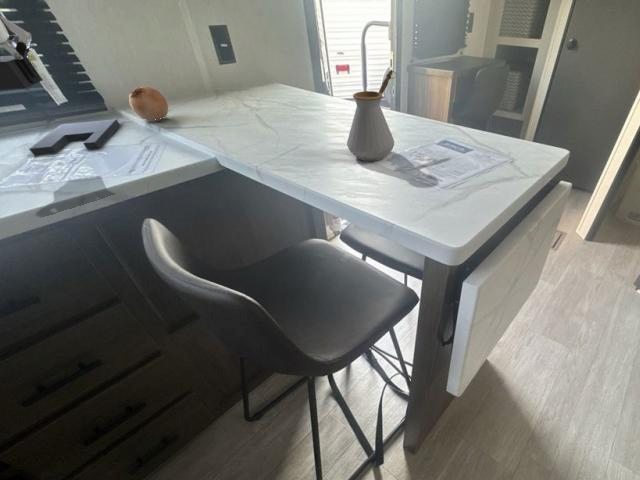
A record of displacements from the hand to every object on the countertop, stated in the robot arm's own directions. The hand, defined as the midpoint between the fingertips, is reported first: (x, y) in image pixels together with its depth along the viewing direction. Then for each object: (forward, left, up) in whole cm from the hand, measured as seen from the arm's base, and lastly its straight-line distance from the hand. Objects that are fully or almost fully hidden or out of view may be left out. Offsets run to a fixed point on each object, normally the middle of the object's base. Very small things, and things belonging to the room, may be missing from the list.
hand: (15, 81), depth 67 cm
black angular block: (0, 0, -1) cm, 1 cm away
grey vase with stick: (+74, -21, -15) cm, 79 cm away
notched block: (-2, +13, -15) cm, 20 cm away
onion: (+15, +24, -15) cm, 32 cm away
